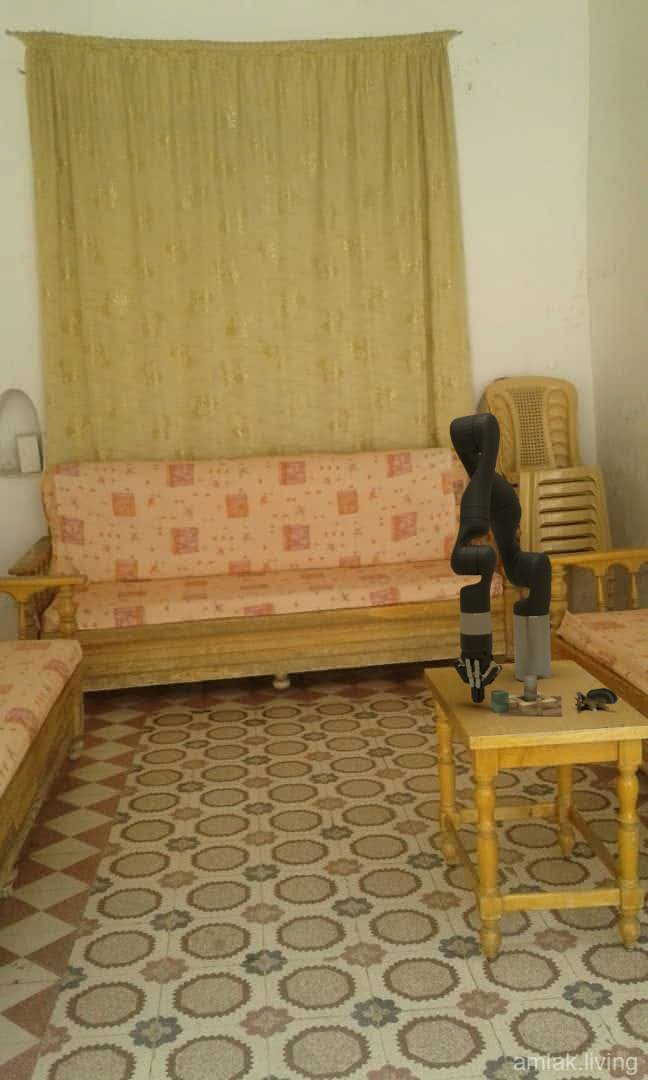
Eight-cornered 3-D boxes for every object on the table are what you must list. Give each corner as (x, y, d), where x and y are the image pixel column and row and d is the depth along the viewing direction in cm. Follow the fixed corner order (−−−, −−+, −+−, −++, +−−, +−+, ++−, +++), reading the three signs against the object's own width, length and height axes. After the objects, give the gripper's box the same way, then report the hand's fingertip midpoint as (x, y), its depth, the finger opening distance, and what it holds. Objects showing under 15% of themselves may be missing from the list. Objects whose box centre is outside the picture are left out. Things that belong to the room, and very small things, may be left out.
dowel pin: (537, 714, 239) (536, 697, 238) (542, 714, 239) (541, 697, 238) (536, 716, 238) (536, 698, 237) (542, 716, 237) (541, 699, 237)
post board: (502, 700, 256) (501, 667, 255) (561, 700, 253) (560, 667, 252) (499, 721, 240) (498, 686, 239) (562, 721, 237) (561, 686, 236)
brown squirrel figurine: (582, 716, 236) (621, 707, 236) (573, 687, 239) (611, 678, 239) (579, 725, 243) (618, 717, 242) (570, 696, 246) (608, 688, 246)
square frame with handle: (538, 698, 252) (537, 680, 251) (557, 707, 243) (557, 689, 243) (485, 706, 248) (484, 688, 247) (503, 716, 239) (502, 697, 238)
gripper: (443, 630, 247) (445, 701, 249) (491, 635, 238) (493, 710, 240) (461, 624, 253) (464, 694, 255) (508, 629, 244) (511, 702, 246)
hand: (478, 702), depth 248 cm, fingers closed
